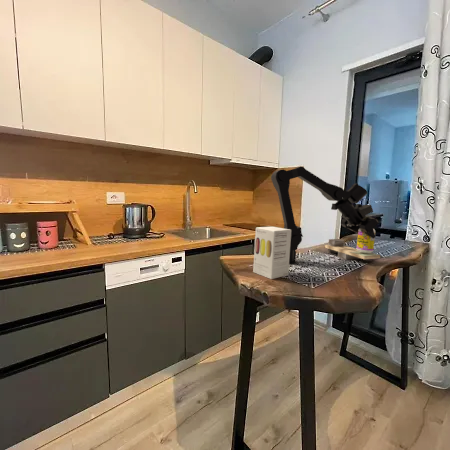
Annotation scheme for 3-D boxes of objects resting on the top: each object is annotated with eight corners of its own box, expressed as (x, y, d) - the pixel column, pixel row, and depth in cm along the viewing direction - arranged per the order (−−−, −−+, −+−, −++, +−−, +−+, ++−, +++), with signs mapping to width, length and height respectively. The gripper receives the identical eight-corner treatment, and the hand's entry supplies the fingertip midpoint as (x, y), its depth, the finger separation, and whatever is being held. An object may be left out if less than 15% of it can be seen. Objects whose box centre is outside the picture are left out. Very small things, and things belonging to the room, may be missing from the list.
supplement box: (252, 272, 94) (254, 227, 92) (269, 268, 100) (271, 225, 98) (271, 279, 87) (274, 230, 85) (289, 275, 92) (292, 229, 90)
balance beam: (380, 263, 112) (381, 248, 111) (362, 265, 109) (364, 249, 108) (339, 251, 135) (340, 238, 134) (324, 252, 131) (325, 239, 131)
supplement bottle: (352, 250, 115) (355, 221, 114) (362, 249, 118) (365, 221, 117) (366, 253, 109) (370, 223, 108) (376, 252, 112) (379, 223, 111)
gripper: (376, 198, 101) (398, 226, 104) (349, 197, 120) (368, 221, 122) (356, 217, 101) (378, 245, 104) (331, 213, 120) (351, 237, 122)
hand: (369, 236), depth 113 cm, fingers closed on supplement bottle, 6 cm apart
